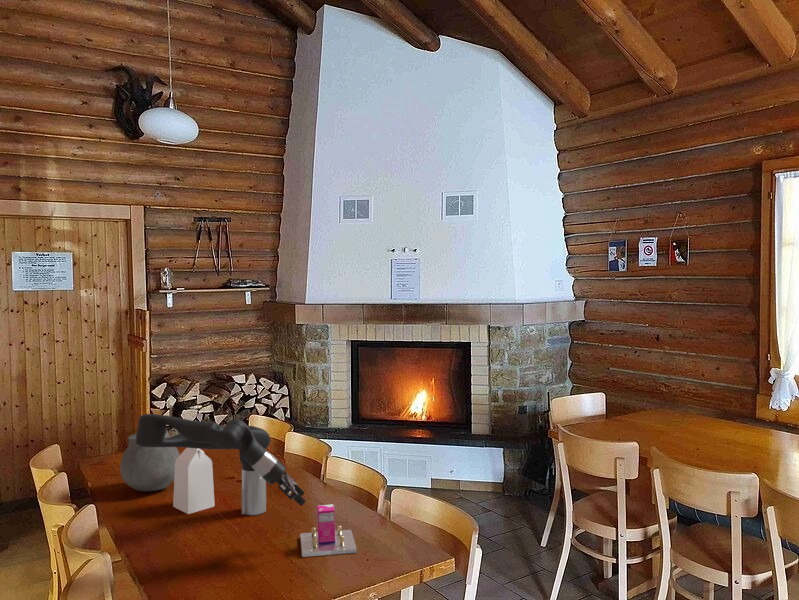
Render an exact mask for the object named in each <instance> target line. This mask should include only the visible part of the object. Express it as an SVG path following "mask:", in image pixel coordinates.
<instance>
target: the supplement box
mask: <svg viewBox="0 0 799 600" xmlns="http://www.w3.org/2000/svg"><path fill="white" fill-rule="evenodd" d="M316 508H317V509H316V512H317V513H316V516H317V532H318V539H319V544H327V543H335V531H336V520H335V518H336V517H335V515H336V514H335V513H336V512H335V505H334V504H332V503H331V504H321V505H317V506H316Z"/></svg>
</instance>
